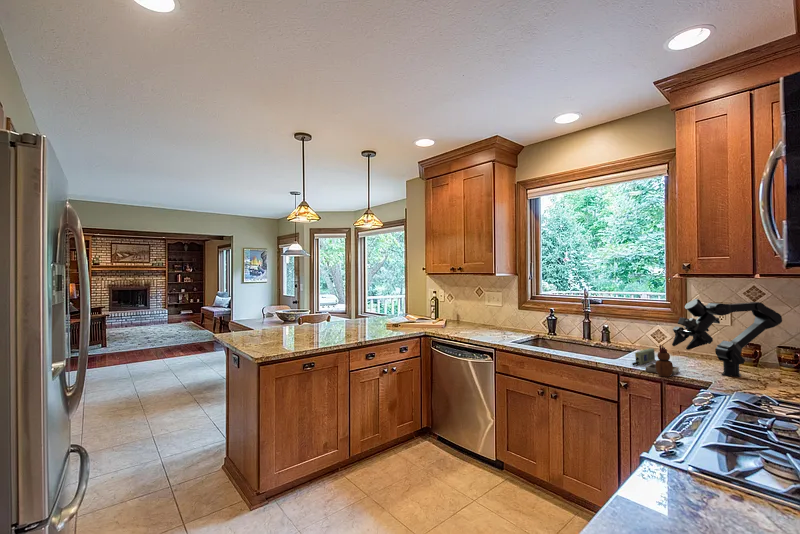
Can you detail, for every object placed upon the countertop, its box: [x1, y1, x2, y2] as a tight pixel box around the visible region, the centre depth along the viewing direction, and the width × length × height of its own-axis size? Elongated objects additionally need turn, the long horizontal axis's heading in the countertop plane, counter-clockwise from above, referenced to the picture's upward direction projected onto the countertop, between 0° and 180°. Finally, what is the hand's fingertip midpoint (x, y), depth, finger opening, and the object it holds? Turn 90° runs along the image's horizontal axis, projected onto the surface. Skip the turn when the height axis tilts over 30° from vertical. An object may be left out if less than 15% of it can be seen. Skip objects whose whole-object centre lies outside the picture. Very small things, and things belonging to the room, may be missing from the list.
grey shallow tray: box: [645, 363, 680, 376], centre depth 190 cm, size 11×12×2 cm
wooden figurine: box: [654, 344, 674, 378], centre depth 181 cm, size 7×6×15 cm
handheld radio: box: [631, 347, 656, 366], centre depth 210 cm, size 7×3×25 cm
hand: (679, 347), depth 181 cm, fingers open, 9 cm apart
